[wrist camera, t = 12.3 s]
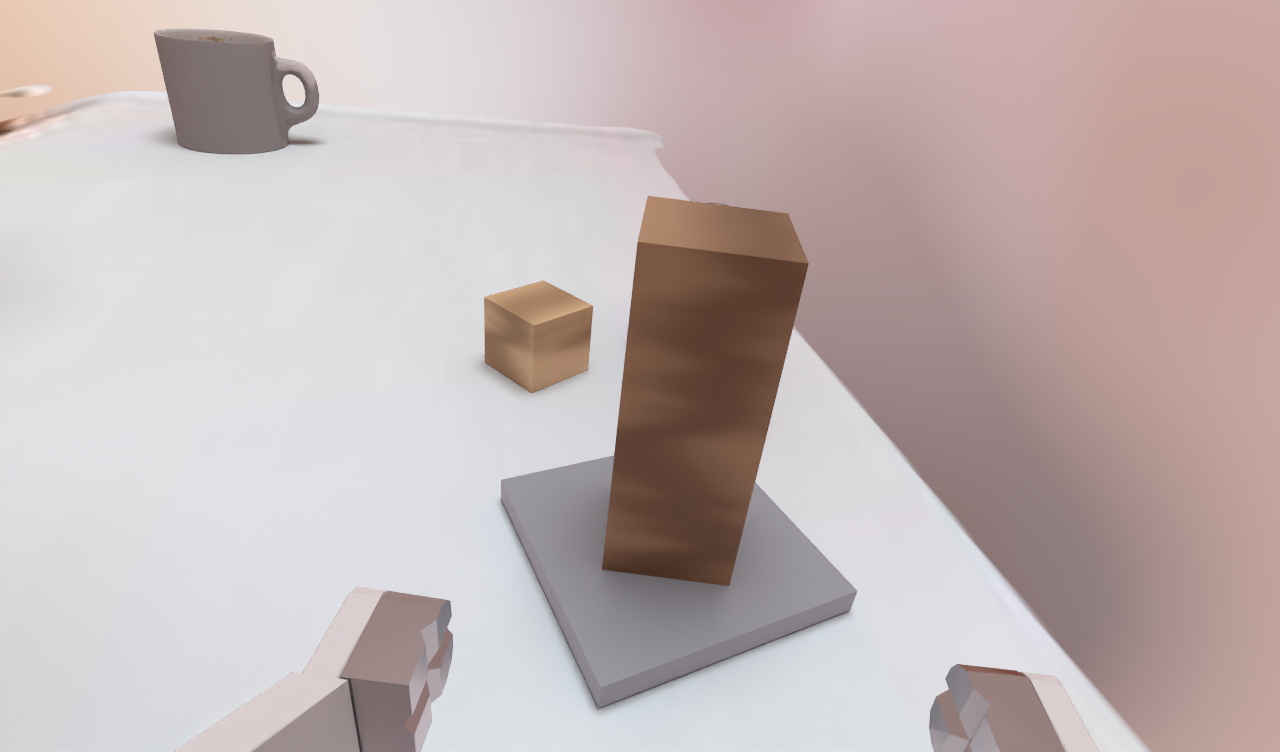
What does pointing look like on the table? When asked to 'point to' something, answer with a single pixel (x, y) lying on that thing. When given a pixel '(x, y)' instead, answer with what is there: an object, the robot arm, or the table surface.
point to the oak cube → (537, 334)
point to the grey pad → (662, 585)
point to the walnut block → (698, 384)
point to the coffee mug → (230, 90)
